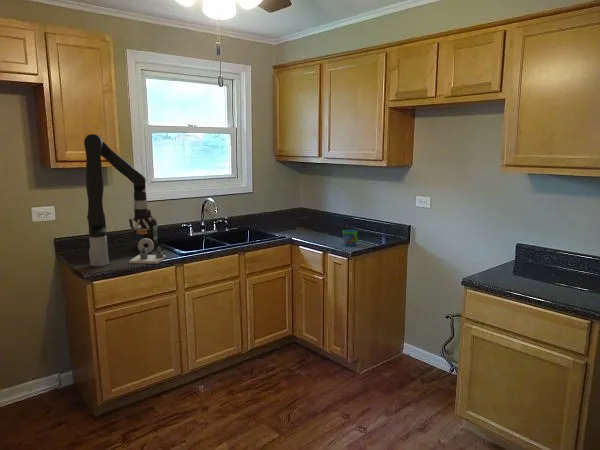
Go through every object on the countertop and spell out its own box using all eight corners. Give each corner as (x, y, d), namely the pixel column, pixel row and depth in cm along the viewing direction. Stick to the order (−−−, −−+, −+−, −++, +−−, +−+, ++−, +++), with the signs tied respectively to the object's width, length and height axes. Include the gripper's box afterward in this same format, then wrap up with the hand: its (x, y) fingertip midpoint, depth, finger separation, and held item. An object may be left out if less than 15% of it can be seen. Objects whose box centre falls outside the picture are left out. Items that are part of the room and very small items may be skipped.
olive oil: (140, 247, 304) (137, 211, 299) (145, 243, 314) (142, 208, 310) (155, 247, 304) (153, 211, 299) (160, 243, 315) (158, 208, 310)
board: (129, 263, 266) (129, 260, 265) (139, 257, 279) (138, 254, 279) (157, 263, 265) (157, 261, 265) (165, 257, 279) (165, 255, 278)
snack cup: (338, 243, 316) (338, 229, 314) (352, 242, 319) (352, 228, 317) (347, 248, 301) (348, 233, 299) (361, 247, 305) (362, 232, 303)
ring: (136, 234, 264) (136, 231, 264) (137, 232, 270) (137, 229, 270) (147, 233, 266) (146, 230, 266) (147, 231, 272) (147, 228, 271)
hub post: (154, 258, 272) (154, 247, 270) (157, 256, 276) (156, 245, 275) (161, 258, 271) (161, 247, 270) (164, 256, 276) (163, 245, 274)
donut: (154, 251, 292) (153, 236, 290) (154, 253, 289) (153, 238, 287) (138, 253, 288) (136, 238, 286) (138, 254, 285) (137, 239, 283)
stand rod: (139, 259, 269) (138, 248, 268) (141, 257, 273) (141, 246, 272) (146, 259, 269) (145, 248, 268) (149, 257, 273) (148, 247, 272)
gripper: (127, 209, 260) (128, 237, 263) (153, 208, 263) (154, 236, 267) (128, 207, 267) (130, 234, 270) (153, 206, 271) (155, 233, 274)
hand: (142, 235), depth 268 cm, fingers closed on ring, 6 cm apart
